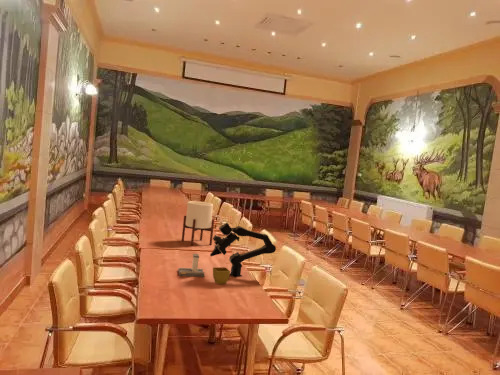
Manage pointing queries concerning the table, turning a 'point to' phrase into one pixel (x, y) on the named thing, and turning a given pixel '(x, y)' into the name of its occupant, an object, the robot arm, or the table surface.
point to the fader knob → (195, 262)
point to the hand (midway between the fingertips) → (210, 255)
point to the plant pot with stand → (198, 219)
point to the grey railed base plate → (190, 272)
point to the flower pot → (221, 275)
